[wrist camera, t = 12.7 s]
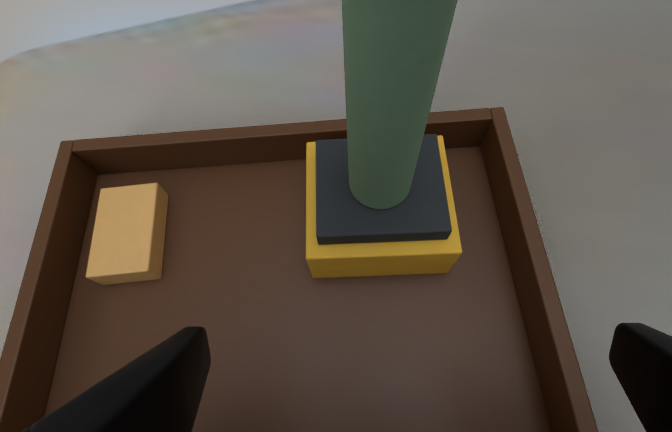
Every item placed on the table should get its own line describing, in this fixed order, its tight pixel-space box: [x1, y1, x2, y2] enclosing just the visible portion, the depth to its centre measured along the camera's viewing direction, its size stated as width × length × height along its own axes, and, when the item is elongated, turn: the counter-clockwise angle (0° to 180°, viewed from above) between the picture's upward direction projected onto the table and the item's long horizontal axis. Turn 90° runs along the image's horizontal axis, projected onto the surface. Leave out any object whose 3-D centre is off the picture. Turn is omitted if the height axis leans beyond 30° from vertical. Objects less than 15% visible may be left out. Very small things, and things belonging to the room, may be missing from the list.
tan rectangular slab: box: [86, 183, 168, 285], centre depth 17 cm, size 4×2×1 cm, turn 6°
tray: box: [0, 107, 598, 432], centre depth 16 cm, size 19×13×3 cm
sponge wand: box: [306, 0, 462, 278], centre depth 12 cm, size 5×6×12 cm
